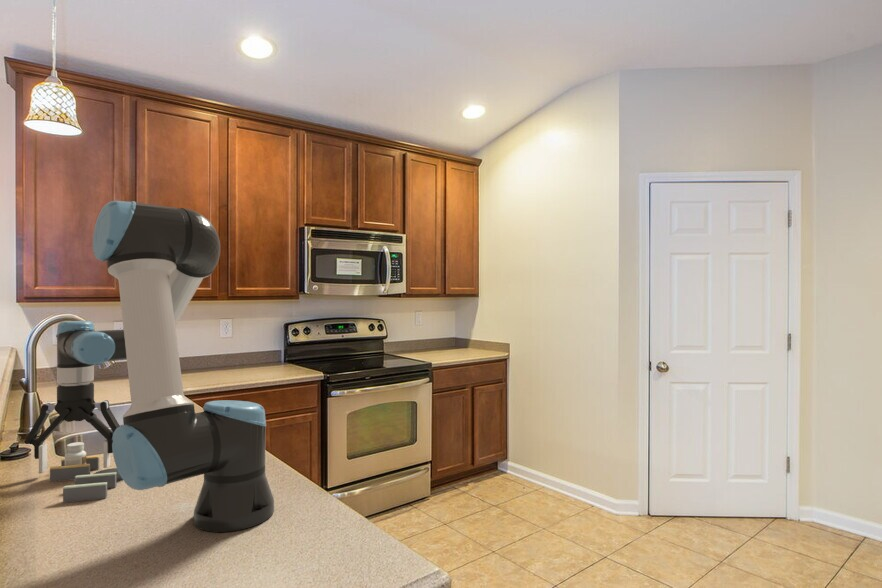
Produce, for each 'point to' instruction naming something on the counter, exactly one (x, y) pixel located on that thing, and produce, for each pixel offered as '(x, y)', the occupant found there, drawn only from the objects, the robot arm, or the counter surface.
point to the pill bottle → (75, 454)
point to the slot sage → (89, 487)
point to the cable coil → (118, 477)
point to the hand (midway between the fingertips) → (75, 468)
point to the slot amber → (73, 469)
